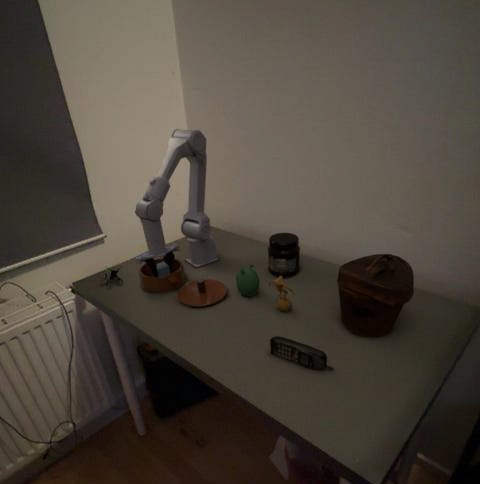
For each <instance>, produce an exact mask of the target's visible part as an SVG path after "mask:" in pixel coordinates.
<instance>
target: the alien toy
mask: <svg viewBox="0 0 480 484" xmlns="http://www.w3.org/2000/svg"><path fill="white" fill-rule="evenodd" d="M248 266H249V267H250V268H244V267H241V268H239V272H238V273H237V274H236V275H235V281H236V288H237V290H238V292H239V293H240V294H241V295H243V296H245V297H251V296H254V295H255V294H256V293H257V292H258V291H259V288H260V283H261V282H260V277H259V275H258V273H257V272H256V271H255V270H254V269H253V268H254V267H255V264H254V263H249V264H248Z"/></svg>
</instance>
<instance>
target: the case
mask: <svg viewBox="0 0 480 484" xmlns="http://www.w3.org/2000/svg"><path fill="white" fill-rule="evenodd" d="M414 275H415V274H414V270H413V268H412V266H411V264H410V263H409V262H408V261H407V260H406V259H404V258H402V257H401V256H399V255H395V254H391V253H377V254H370V255H365V256H362V257H359V258H355V259H353V260H350V261H347V262H346V263H343V264H341V265H340V266H339V268H338V274H337V278H336V283H337V288H338V297H339V306H340V318H341V323H342V325H343V326H344V328H345V329H347V330H348V331H349V332H351V333H353V334H355V335H358V336H362V337H368V338H375V337H377V338H378V337H382V336H384V335H387V334H390V333H391V332H392V331H393V328H394V326H395V323H396V321H397V320H398V317H399V315H400V313H401V312H402V309H403V308H404V306H405V304H408V303H409V302H410V301H411V300H412V298H413V297H414V294H415V288H414V287H415V286H414V285H415V284H414V283H415V276H414Z"/></svg>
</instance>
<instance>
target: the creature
mask: <svg viewBox="0 0 480 484" xmlns="http://www.w3.org/2000/svg"><path fill="white" fill-rule="evenodd" d="M104 267H105V268H106V269H107V270H109V271H110V273H108V272H106V273H105V272H104V275H105V277H104V278H103V279H102V280H101V281H100V283H102V282H103V281H105V280H106V281H107V282H106V283H104V284H101V286H105V285H108V287H110V284H112V281H114V279H117V280H118V281H121V284H119V282H116V284H117V285H118V286H122V285H123V283H124V281H123V279H121V278H120V277H119V276H118V273H119V271H120V269H121V268H122V267H123V265H120V266H119V267H118V268H117V270H115V269H111V268H109V267H107V266H106V265H105V266H104ZM107 273H108V274H109V277H108V274H107Z"/></svg>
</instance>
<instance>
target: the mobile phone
mask: <svg viewBox="0 0 480 484" xmlns="http://www.w3.org/2000/svg"><path fill="white" fill-rule="evenodd" d="M269 346H270V347H269V349H270V354H271V355H273V356H276V357H278V358H282V359H285V360H287V361H289V362H293V363H295V364H297V365H300V366H303V367H304V368H306V369H307V368H308V369H312V370H319V371H321V370H323V369H327V370H330V371H333V370H334V367H333V366H331V365H328V364H327V363H328V355H327V354H326V353H325V351H323V350H321V349H318V348H316V347H313V346H311V345H309V344H305V343H303V342H302V343H301V342H299V341H297V340H294V339H291V338H288V337H284V336H279V335H277V336H273V337H271V338H270V339H269Z"/></svg>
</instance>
